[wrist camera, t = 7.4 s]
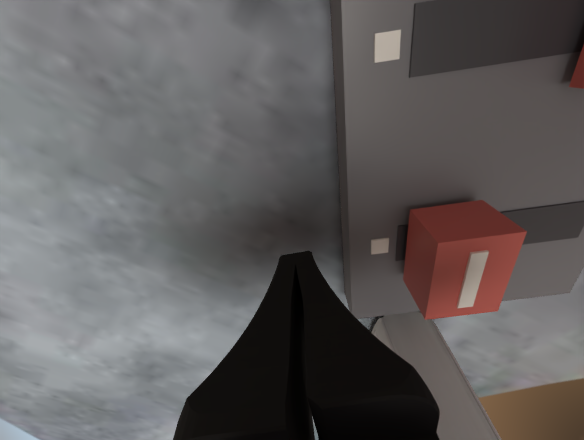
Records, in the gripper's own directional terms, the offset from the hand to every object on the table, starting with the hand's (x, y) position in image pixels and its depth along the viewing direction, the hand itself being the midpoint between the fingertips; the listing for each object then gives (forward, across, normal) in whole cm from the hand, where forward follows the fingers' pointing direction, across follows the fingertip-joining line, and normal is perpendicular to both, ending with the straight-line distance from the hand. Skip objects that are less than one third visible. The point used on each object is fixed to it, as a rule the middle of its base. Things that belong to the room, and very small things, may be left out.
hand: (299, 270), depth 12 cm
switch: (+1, -6, 0) cm, 7 cm away
